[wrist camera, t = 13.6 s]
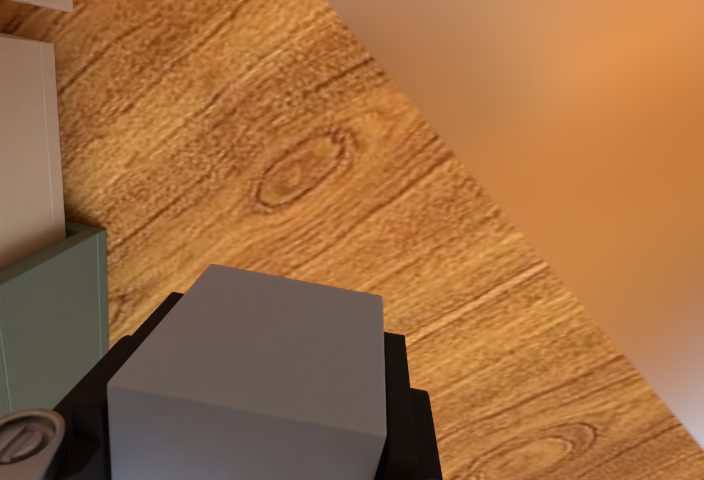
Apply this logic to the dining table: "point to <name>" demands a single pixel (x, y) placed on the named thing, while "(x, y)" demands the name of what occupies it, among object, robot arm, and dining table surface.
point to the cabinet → (53, 319)
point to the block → (254, 385)
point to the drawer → (29, 146)
